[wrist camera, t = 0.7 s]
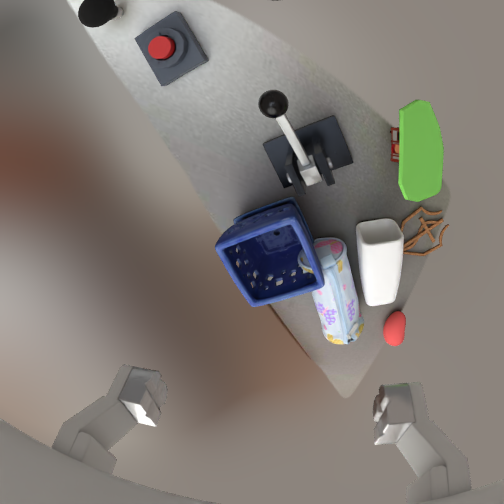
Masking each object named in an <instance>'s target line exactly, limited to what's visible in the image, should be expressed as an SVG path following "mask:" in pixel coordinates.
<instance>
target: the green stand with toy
mask: <svg viewBox="0 0 504 504" xmlns="http://www.w3.org/2000/svg"><path fill="white" fill-rule="evenodd" d="M399 122H400V124H399V128H393V127H391V131H390V133H392V140H391V142H392V147H391V161H394V162H399V179H398V184H399V186H400V189H401V191H402V193H403V196H404V198H405V199H406V200H411V201H416V202H419V201H422V200H424V199H426V198H429V197H431V196H434V195H436V194H437V193H438V192H439V191H440V189H441V184H442V169H443V149H444V148H443V143H442V137H441V132H440V127H439V124H438V122H437V119H436V117H435V114H434V112H433V110H432V107H431V105H430V102H426V101H422V100H415V101H413V102H411V103H410V104H408V105H407V106H405V107H403V108H401V109H400V110H399Z"/></svg>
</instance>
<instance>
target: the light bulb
mask: <svg viewBox="0 0 504 504" xmlns="http://www.w3.org/2000/svg"><path fill="white" fill-rule="evenodd" d="M122 15H123V9H122V8H121V7H117V6H116V5H115V2H114V0H84V1H83V3H82V4H81V6H80V8H79V11H78V17H79V20H80V21H81V23H82V24H84V25H85V26H87V27H99V26H101V25H103V24H105V23H107V22H108V21H109V20H117V19H119V18H121V17H122Z"/></svg>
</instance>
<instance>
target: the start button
mask: <svg viewBox="0 0 504 504" xmlns="http://www.w3.org/2000/svg"><path fill="white" fill-rule="evenodd" d="M174 50H175V43H174V41H173V40H172V39H171V38H169V37H164V36H158V37H156V38H154V39H153V40H152V41H151V42H150V44H149V47H148V51H149V54H150V55H151V56H152V57H153V58H155V59H165V58H168V57H170V56H171V55H172V54H173V52H174Z"/></svg>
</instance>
